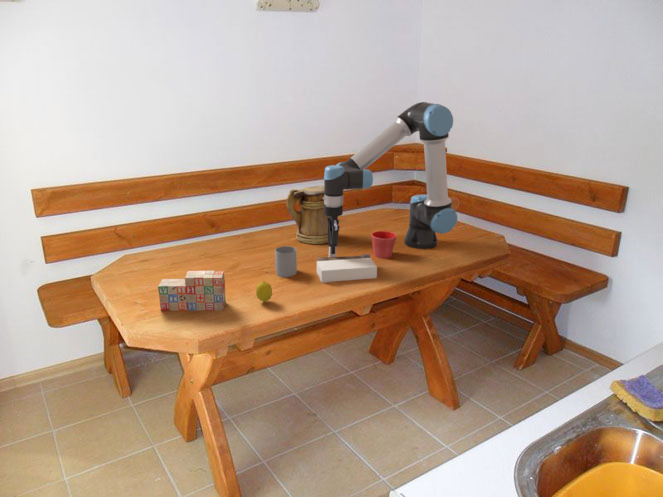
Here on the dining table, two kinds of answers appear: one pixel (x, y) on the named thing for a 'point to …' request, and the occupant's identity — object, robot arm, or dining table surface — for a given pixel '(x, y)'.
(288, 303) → the dining table surface
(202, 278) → the stack of blocks
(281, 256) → the cup
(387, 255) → the flower pot
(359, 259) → the white rectangular box
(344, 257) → the folding leg
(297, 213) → the tankard
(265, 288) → the lemon
